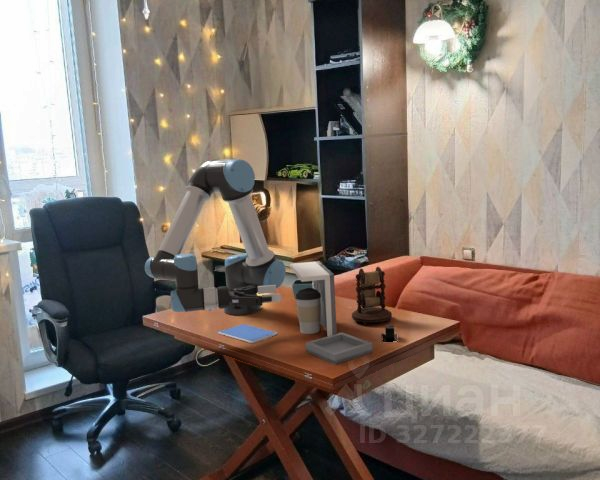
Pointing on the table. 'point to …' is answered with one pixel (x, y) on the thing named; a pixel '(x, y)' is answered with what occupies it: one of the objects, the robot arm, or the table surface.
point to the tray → (338, 348)
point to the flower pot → (301, 286)
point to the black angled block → (389, 334)
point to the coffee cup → (309, 310)
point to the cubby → (320, 290)
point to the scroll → (371, 297)
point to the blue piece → (248, 333)
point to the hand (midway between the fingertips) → (278, 292)
